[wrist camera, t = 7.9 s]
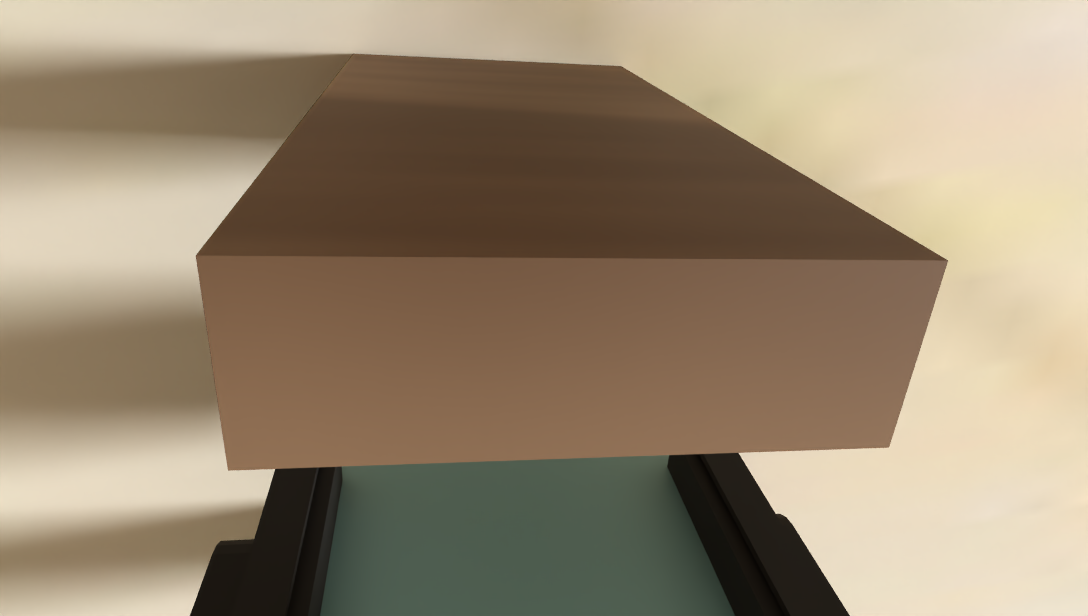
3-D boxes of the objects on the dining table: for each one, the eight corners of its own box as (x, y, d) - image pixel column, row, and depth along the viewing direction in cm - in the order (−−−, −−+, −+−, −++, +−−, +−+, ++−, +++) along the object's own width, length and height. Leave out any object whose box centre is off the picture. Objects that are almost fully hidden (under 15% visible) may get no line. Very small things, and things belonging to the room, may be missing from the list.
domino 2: (600, 385, 16) (813, 933, 7) (363, 391, 15) (269, 1010, 6) (607, 319, 15) (853, 835, 6) (359, 322, 15) (249, 906, 6)
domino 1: (613, 149, 15) (888, 447, 6) (357, 141, 14) (227, 470, 5) (620, 66, 14) (946, 261, 5) (353, 53, 13) (196, 254, 4)
